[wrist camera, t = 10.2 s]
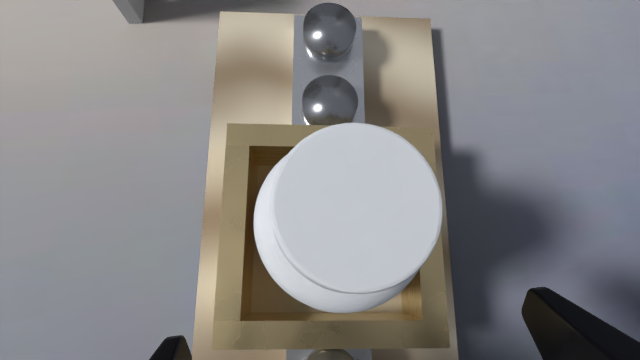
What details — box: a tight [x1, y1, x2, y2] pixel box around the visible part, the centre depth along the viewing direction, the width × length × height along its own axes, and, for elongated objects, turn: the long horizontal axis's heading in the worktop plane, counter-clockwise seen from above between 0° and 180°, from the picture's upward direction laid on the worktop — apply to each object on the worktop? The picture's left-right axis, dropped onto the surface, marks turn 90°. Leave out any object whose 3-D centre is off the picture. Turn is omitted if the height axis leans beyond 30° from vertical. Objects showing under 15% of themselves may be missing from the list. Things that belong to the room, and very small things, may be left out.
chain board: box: [192, 11, 459, 360], centre depth 18 cm, size 25×12×1 cm, turn 0°
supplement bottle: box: [254, 123, 443, 313], centre depth 13 cm, size 5×5×10 cm
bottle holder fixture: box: [211, 3, 450, 360], centre depth 16 cm, size 23×9×3 cm, turn 0°
